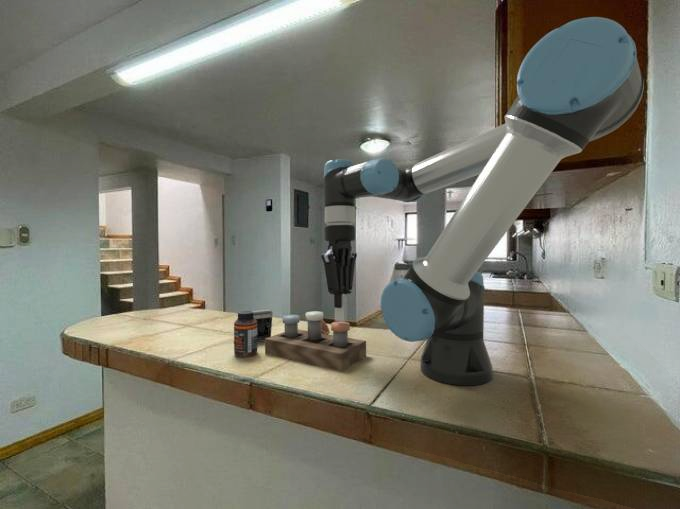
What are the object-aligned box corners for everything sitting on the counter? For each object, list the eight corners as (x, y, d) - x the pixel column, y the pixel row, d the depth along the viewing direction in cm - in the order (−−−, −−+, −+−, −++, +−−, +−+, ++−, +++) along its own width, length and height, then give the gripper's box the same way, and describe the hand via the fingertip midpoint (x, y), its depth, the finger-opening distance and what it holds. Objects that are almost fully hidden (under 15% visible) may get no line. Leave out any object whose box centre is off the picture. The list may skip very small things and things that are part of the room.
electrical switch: (270, 336, 104) (270, 307, 103) (274, 342, 100) (275, 312, 98) (239, 340, 100) (239, 310, 99) (243, 346, 95) (243, 315, 94)
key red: (353, 348, 82) (353, 322, 82) (343, 353, 78) (343, 326, 78) (337, 345, 84) (337, 320, 84) (327, 350, 81) (327, 324, 80)
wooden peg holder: (366, 356, 84) (366, 340, 84) (341, 371, 74) (341, 353, 74) (294, 342, 97) (294, 328, 97) (265, 353, 87) (264, 338, 87)
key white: (326, 336, 86) (326, 312, 86) (316, 341, 82) (316, 315, 82) (312, 334, 89) (312, 310, 89) (302, 338, 85) (301, 313, 85)
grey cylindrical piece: (303, 339, 91) (302, 315, 90) (292, 343, 87) (292, 319, 87) (290, 336, 93) (290, 314, 93) (279, 340, 89) (279, 317, 89)
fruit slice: (325, 341, 97) (325, 325, 97) (304, 340, 99) (304, 324, 99) (332, 334, 106) (331, 319, 106) (312, 333, 107) (311, 318, 107)
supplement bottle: (229, 355, 85) (228, 312, 85) (245, 349, 91) (245, 308, 90) (246, 359, 83) (245, 314, 82) (262, 352, 88) (261, 310, 88)
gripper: (340, 227, 88) (342, 314, 88) (311, 224, 77) (312, 323, 77) (365, 225, 84) (366, 317, 84) (338, 222, 73) (339, 327, 73)
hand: (340, 320), depth 81 cm, fingers closed
